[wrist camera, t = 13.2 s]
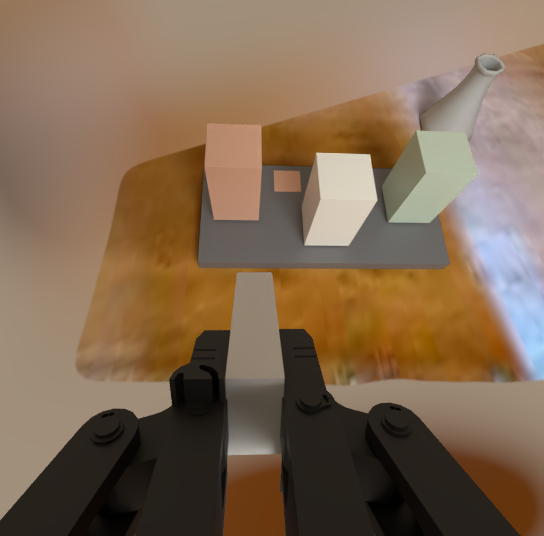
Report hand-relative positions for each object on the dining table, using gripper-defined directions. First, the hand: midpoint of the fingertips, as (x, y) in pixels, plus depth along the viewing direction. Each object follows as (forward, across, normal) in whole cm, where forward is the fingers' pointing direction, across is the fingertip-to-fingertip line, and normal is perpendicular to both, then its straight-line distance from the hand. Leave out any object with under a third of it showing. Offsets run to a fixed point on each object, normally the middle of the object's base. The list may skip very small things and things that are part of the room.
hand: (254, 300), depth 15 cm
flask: (+38, +27, +7) cm, 47 cm away
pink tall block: (+26, -2, -1) cm, 26 cm away
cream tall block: (+24, +8, -4) cm, 25 cm away
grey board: (+26, +8, -3) cm, 28 cm away
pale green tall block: (+26, +18, -1) cm, 32 cm away
